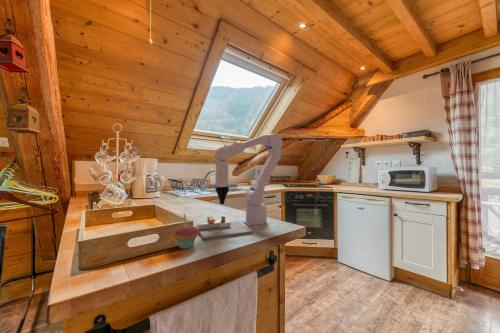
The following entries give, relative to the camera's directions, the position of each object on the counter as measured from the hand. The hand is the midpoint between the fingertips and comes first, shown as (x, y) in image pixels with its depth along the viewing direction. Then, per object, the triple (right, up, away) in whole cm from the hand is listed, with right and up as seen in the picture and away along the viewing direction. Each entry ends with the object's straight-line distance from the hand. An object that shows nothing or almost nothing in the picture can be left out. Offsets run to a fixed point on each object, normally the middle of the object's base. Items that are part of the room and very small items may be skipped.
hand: (222, 203), depth 105 cm
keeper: (-4, -10, -6) cm, 12 cm away
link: (-3, -9, -6) cm, 11 cm away
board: (+1, -10, -8) cm, 13 cm away
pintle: (+1, -10, -5) cm, 11 cm away
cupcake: (-10, -11, -25) cm, 29 cm away
